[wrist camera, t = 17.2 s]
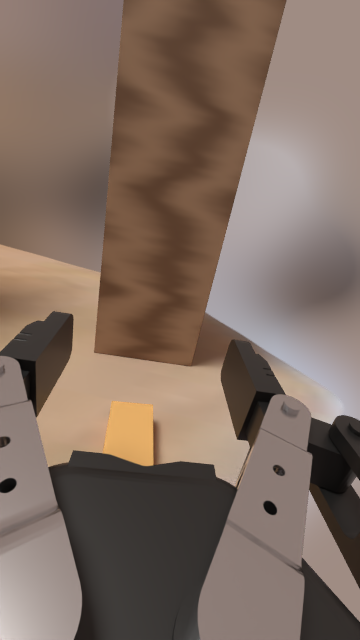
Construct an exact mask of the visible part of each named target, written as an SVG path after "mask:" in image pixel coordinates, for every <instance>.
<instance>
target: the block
mask: <svg viewBox="0 0 360 640" xmlns="http://www.w3.org/2000/svg"><path fill="white" fill-rule="evenodd" d="M103 454H110V455H113V456H116V457H119V458H122V459H125V460H128V461H131V462H133V463H136V464H139V465H142V466H152V465H153V405H150V404H139V403H128V402H117V401H112V403H111V409H110V415H109V420H108V426H107V431H106V437H105V443H104V448H103Z"/></svg>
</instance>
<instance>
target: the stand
mask: <svg viewBox="0 0 360 640" xmlns="http://www.w3.org/2000/svg"><path fill="white" fill-rule="evenodd" d="M285 4H286V0H124V4H123V16H122V28H121V41H120V53H119V63H118V76H117V87H116V100H115V111H114V123H113V135H112V146H111V158H110V170H109V182H108V194H107V206H106V219H105V231H104V242H103V254H102V266H101V277H100V289H99V301H98V313H97V325H96V337H95V349H94V352H96V353H103V354H110V355H117V356H124V357H131V358H138V359H145V360H152V361H158V362H165V363H172V364H179V365H186V366H191V364H192V360H193V356H194V352H195V348H196V345H197V341H198V337H199V333H200V329H201V325H202V322H203V318H204V314H205V310H206V306H207V302H208V299H209V294H210V291H211V287H212V283H213V279H214V276H215V272H216V268H217V264H218V260H219V256H220V252H221V249H222V245H223V241H224V237H225V233H226V230H227V226H228V222H229V218H230V214H231V210H232V207H233V203H234V199H235V195H236V191H237V188H238V184H239V180H240V176H241V172H242V168H243V165H244V161H245V157H246V153H247V149H248V145H249V142H250V138H251V134H252V130H253V126H254V122H255V119H256V114H257V111H258V107H259V103H260V99H261V96H262V92H263V88H264V84H265V80H266V77H267V73H268V69H269V65H270V61H271V57H272V54H273V50H274V45H275V42H276V38H277V34H278V30H279V27H280V23H281V19H282V15H283V11H284V8H285Z"/></svg>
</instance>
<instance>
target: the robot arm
mask: <svg viewBox="0 0 360 640" xmlns="http://www.w3.org/2000/svg"><path fill="white" fill-rule="evenodd" d="M72 338H73V315H72V314H68V313H61V312H55V311H53V312H52V313H51V314H50V315H49V316H48V317H47V319H46V320H45V321H36V322H33V323H31V324H29V325H27V326H26V327H25V328H24V329H23V330H22V331H21V332H20V334H18V335H17V336H16V337H15V338H14V339H13V340H12V341H11V342H10V343H9V344H8V345H7V346H6V347H5V348H4V349H3V350H2V351H1V352H0V640H360V622H359V621H358V620H357V619H356V618H355V616H354V615H353V614H352V613H351V612H350V611H349V610H348V609H347V607H346V606H345V605H344V604H343V603H342V602H341V601H340V600H339V598H338V597H337V596H336V595H335V594H334V593H333V592H332V591H331V589H330V588H329V587H328V586H327V585H326V584H325V583H324V582H323V581H322V579H321V578H320V577H319V576H318V575H317V574H316V573H315V571H314V570H313V569H312V568H311V567H310V566H309V565H308V564H307V563H306V561H305V560H304V559H303V558H302V551H303V541H304V532H305V522H306V513H307V504H308V495H309V490H310V492H311V494H312V496H313V498H314V500H315V502H316V504H317V506H318V508H319V510H320V512H321V514H322V516H323V518H324V520H325V522H326V523H327V526H328V528H329V529H330V531H331V533H332V535H333V537H334V539H335V541H336V543H337V545H338V547H339V549H340V551H341V553H342V555H343V557H344V559H345V560H346V563H347V565H348V567H349V568H350V571H351V573H352V575H353V576H354V578H355V580H356V582H357V584H358V586H359V588H360V498H359V496H358V495H357V494H356V492H355V490H354V489H353V487H352V486H351V484H352V482H353V481H354V479H355V478H356V477H358V479H359V480H360V421H359V420H357V419H355V418H353V417H349V416H344V415H341V416H337V417H336V418H335V420H334V422H333V424H332V425H331V424H328V423H325V422H322V421H320V420H317V419H314V418H312V417H311V413H310V411H309V410H308V408H307V407H306V406H305V405H304V404H303V403H301V402H300V401H299V400H297V399H295V398H293V397H291V396H288V395H286V394H285V393H284V391H283V389H282V387H281V386H280V384H279V382H278V380H277V378H276V377H275V375H274V373H273V371H271V368H270V366H269V364H268V363H267V361H266V360H265V359H264V358H262V357H261V356H260V355H259V354H255V352H254V350H253V348H252V346H251V344H250V343H249V342H245V341H239V340H232V341H231V342H230V345H229V348H228V351H227V354H226V357H225V360H224V363H223V367H222V370H221V383H222V386H223V390H224V394H225V397H226V401H227V404H228V408H229V412H230V415H231V419H232V423H233V426H234V430H235V434H236V437H237V440H246V441H248V442H249V445H250V449H249V451H248V454H247V456H246V459H245V461H244V464H243V466H242V469H241V471H240V474H239V477H238V479H237V482H236V484H235V487H234V486H233V485H231V484H230V483H228V482H226V481H224V480H222V479H220V478H217V477H216V475H215V469H214V465H211V464H201V463H191V462H182V461H180V462H173V463H166V464H159V465H152V466H142V465H139V464H136V463H133V462H131V461H128V460H125V459H122V458H119V457H116V456H113V455H110V454H103V453H93V452H84V451H74V450H73V452H72V455H71V458H70V461H69V462H68V463H62V464H58V465H54V466H51V467H48V465H47V461H46V457H45V453H44V449H43V445H42V441H41V437H40V433H39V429H38V425H37V421H36V417H37V416H38V414H39V412H40V411H41V409H42V407H43V405H44V403H45V402H46V400H47V398H48V396H49V395H50V393H51V391H52V389H53V387H54V386H55V384H56V382H57V380H58V379H59V377H60V375H61V373H62V371H63V370H64V368H65V366H66V364H67V363H68V361H69V358H70V355H71V351H72Z"/></svg>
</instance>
